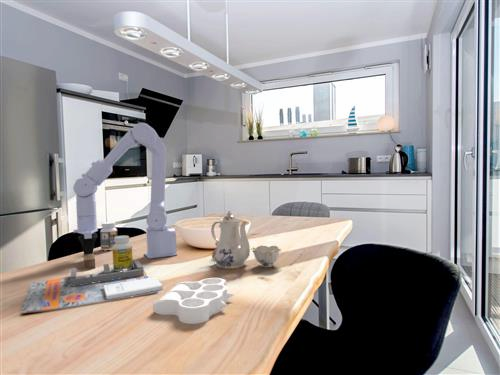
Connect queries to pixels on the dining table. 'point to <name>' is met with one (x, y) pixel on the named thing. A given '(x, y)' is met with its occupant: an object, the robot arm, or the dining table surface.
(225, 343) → the dining table surface
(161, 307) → the white egg tray
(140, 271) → the slot rack
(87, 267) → the walnut bar
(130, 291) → the external hard drive
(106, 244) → the pill bottle
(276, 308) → the dining table surface
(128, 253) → the supplement bottle
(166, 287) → the dining table surface
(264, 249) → the chinaware
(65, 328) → the dining table surface
